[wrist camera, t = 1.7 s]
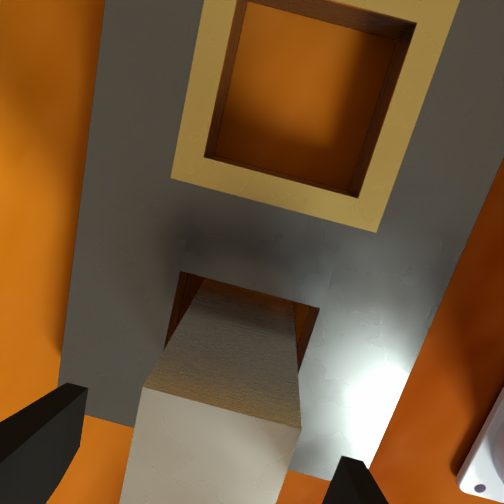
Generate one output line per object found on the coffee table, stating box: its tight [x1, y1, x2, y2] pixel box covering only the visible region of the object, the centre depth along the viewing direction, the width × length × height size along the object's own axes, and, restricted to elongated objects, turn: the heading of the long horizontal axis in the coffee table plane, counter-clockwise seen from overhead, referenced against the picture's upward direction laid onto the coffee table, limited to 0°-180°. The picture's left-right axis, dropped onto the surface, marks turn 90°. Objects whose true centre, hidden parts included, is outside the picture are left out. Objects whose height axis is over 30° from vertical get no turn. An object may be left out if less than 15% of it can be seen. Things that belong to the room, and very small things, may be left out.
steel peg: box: [119, 278, 302, 504], centre depth 14 cm, size 4×4×8 cm
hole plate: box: [57, 0, 504, 481], centre depth 15 cm, size 14×20×2 cm
